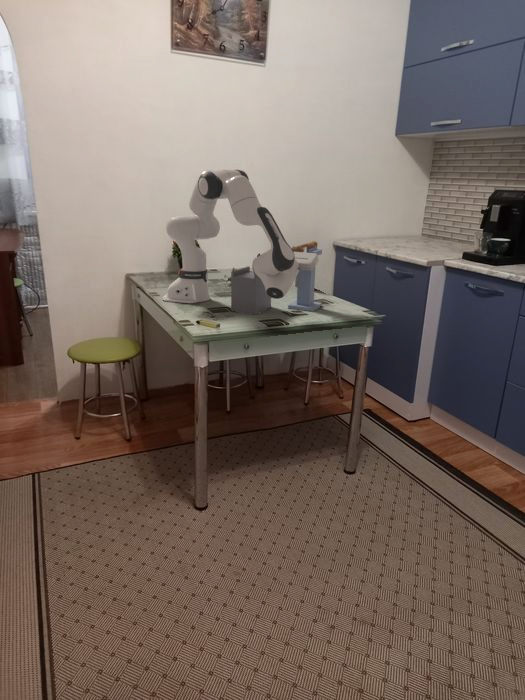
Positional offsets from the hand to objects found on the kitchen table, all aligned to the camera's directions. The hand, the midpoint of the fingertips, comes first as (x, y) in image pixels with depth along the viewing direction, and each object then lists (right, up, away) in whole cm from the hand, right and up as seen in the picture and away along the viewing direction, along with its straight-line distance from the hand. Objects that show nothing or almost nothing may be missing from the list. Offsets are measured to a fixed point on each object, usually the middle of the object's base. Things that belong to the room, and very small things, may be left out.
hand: (299, 248), depth 214 cm
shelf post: (+4, -24, +18) cm, 30 cm away
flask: (+5, -10, +58) cm, 59 cm away
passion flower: (-30, -8, +62) cm, 69 cm away
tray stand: (-21, -25, +13) cm, 35 cm away
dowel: (+3, +2, +7) cm, 8 cm away
